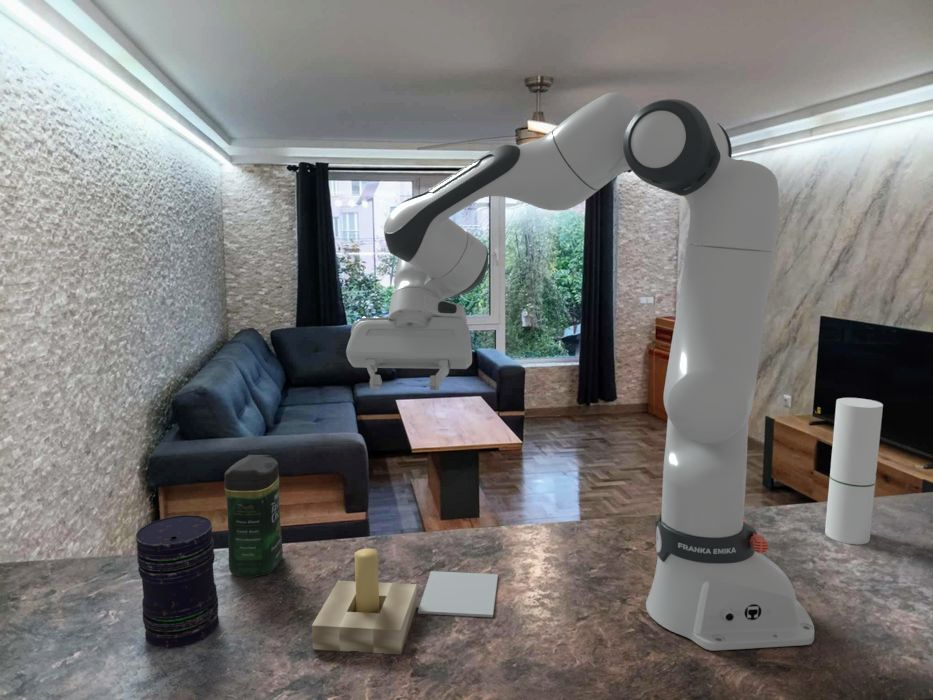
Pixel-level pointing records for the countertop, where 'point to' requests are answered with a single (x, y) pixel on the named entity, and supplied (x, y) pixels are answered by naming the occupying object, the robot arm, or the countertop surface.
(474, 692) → the countertop surface
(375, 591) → the peg
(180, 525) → the dark blue cylinder
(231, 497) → the coffee jar
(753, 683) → the countertop surface
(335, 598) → the hole block
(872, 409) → the cylindrical container
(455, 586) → the mat
